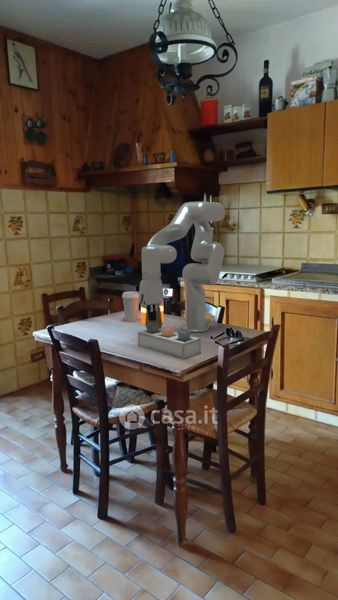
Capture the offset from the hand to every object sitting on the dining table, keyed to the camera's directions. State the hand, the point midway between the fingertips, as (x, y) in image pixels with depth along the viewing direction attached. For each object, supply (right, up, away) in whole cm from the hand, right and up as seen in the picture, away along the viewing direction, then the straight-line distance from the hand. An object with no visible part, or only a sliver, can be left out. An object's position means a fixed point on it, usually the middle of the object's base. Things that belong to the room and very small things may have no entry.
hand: (152, 320), depth 178 cm
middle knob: (+7, -8, -5) cm, 11 cm away
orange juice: (-1, -3, +42) cm, 42 cm away
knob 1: (0, -7, +2) cm, 7 cm away
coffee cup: (-13, -3, +48) cm, 49 cm away
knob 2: (+13, -9, -11) cm, 19 cm away
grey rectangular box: (+7, -12, -4) cm, 14 cm away
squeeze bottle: (0, -7, +24) cm, 25 cm away
